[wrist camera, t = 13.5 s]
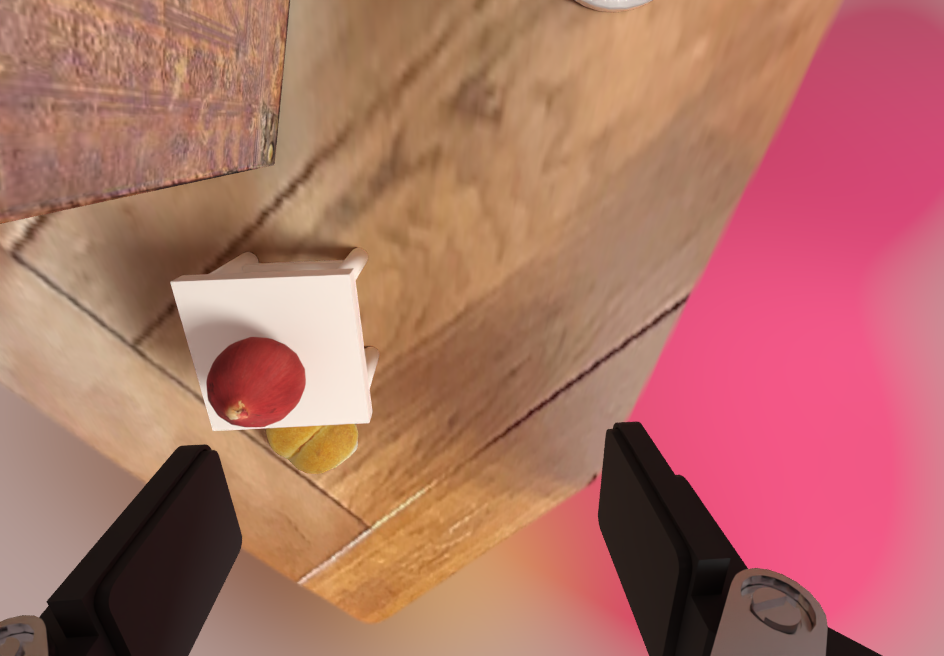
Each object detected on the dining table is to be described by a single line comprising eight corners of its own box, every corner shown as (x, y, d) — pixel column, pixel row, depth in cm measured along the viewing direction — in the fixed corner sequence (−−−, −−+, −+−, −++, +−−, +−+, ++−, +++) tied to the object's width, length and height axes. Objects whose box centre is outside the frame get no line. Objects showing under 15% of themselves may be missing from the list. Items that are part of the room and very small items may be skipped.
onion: (281, 404, 36) (239, 476, 28) (218, 355, 34) (155, 417, 27) (333, 357, 34) (303, 420, 27) (270, 303, 33) (219, 354, 25)
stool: (371, 242, 41) (349, 274, 32) (384, 364, 46) (369, 423, 37) (232, 247, 41) (170, 281, 32) (260, 370, 46) (213, 431, 36)
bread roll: (307, 372, 46) (295, 393, 43) (373, 429, 49) (367, 453, 45) (252, 420, 48) (235, 444, 44) (318, 472, 51) (308, 499, 47)
